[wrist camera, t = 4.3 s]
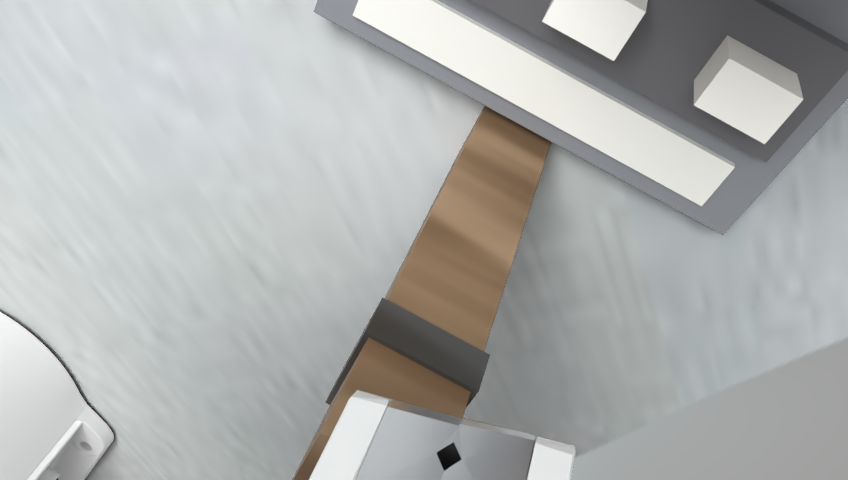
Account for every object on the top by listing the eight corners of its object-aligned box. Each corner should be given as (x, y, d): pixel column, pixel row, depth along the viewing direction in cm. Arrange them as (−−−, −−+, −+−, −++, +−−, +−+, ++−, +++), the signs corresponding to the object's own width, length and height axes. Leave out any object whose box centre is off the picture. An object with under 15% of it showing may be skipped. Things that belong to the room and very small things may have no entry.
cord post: (520, 193, 34) (392, 558, 20) (452, 156, 34) (276, 497, 20) (558, 134, 32) (446, 495, 18) (486, 94, 32) (316, 426, 18)
